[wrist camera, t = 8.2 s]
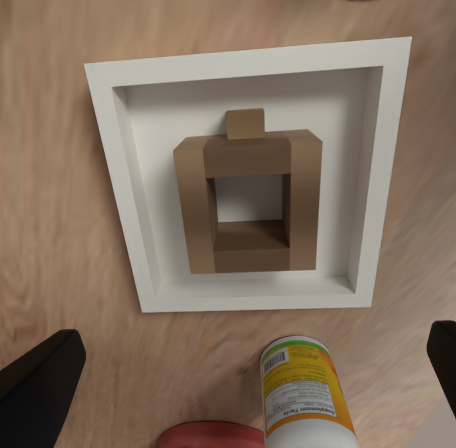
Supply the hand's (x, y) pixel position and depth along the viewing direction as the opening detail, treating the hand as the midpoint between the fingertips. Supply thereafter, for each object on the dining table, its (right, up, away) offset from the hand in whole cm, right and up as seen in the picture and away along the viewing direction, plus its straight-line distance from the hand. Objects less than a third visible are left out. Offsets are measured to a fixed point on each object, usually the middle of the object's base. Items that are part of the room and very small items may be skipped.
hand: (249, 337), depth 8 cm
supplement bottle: (+5, -7, +16) cm, 19 cm away
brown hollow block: (+1, +5, +10) cm, 11 cm away
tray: (+1, +5, +10) cm, 12 cm away
